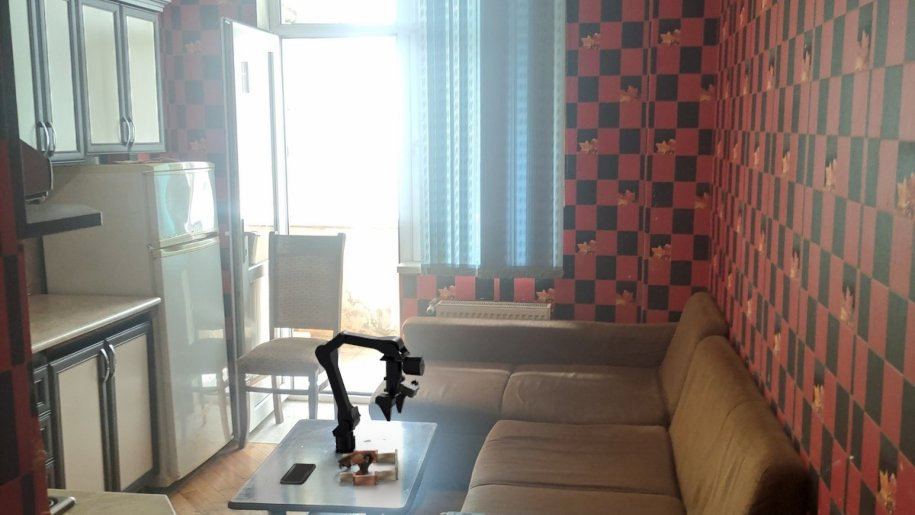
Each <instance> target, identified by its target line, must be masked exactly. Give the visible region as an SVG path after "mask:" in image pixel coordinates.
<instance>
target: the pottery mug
mask: <svg viewBox="0 0 915 515" xmlns="http://www.w3.org/2000/svg"><path fill="white" fill-rule="evenodd" d="M358 451H359V450H354V452H353V453H348V454H349V455H348V456H346V457H343V456H342V458H340V459H339V460H337V463H338V469H339V470H342V467H345V468H347V469H348V470H350V468H352V467H353V466H352V464H354V465H355V466H356V465H357V467H358V470H357V471H355V472H356V476H359V475H369V467H371V465H372V464H373V463H374V462H373V460H374V456H373V455H372V453H371V452H366V453H364V454H359V453H358ZM367 456H369V461H368V462H366V457H367ZM350 460H352V461H353V463H350Z"/></svg>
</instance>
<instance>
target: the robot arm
mask: <svg viewBox="0 0 915 515" xmlns="http://www.w3.org/2000/svg"><path fill="white" fill-rule="evenodd" d="M343 345H350V346H356V347H361V348H366V349H372V350H375V351H378V352H379V353H380V354H383V355H382V356H381V357H380V358H379V361H380V362H385V376H383V381H385V387H384V388H383V392H380V393H379V394H378V395H377V396H375V399H374V402H375V403H374V404H375V405H377V406H378V407H379V409H380V410H381V412H382V415H383V417H384V418H385V420H386V422H389V423H390V422H391V421H392V420H391V419H392V411H393V408H394V406H395V407H396V411H397V413H398V414H402V412H403V409H404V404H405V400H406V398H407V397H408V398H410V399H412V398H414V397H415V396H417V393H418V391H419V390H420V385H419V380H418V379H415V378H413V379H412V380H406V376H417V377H419V376H420V377H423V376H424V374H425V369H426V368H425V367H426V365H425V361H424V358H423V355H411V352H410V351H409V350H408V348H407V347H406V345H405V341H404V340H403V339H402V337H401V336H398V335H385V336H376V335H375V336H374V335H369V334H365V333H364V334H363V333H359V332H352V331H349V330H342V331H339V333H337V334H336V336H334V337H333V338H331V339H330V340H326V341H324V342H322V343H321V344H319V345H317V347H316V348H315V350H314V355H315V358H316V360H317V361H318V363H319V365H320V366H321V367H322V368H323V369H324V370H325V373H326V376H327V380H328V383H329V385H330V389H331V391H332V395H333V398H334V401H335V404H336V407H337V414H336V415H337V416H336V420H337V426H336V427H335V428H333V430H332V431H331V434H332V436H333V437H334V439H335V440H334V441H335V452H334V453H335V454H351V453H353V452H355V450H356V448H357V445H356V435H355V434H354V431H355V430H356V427H358V425H359V424H360V422H361V416H362V414H360V412H359V407H358V405H356V406H354V405H353V404H352V403H351V401H350V397H349V395H348V392H347V389H346V385H345V382H344V379H343V376H342V374H341V369H340V368H339V349H340V348H341V347H342V346H343ZM404 374H405V375H404Z"/></svg>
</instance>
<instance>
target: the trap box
mask: <svg viewBox="0 0 915 515" xmlns="http://www.w3.org/2000/svg"><path fill="white" fill-rule="evenodd" d="M357 451H358V453H359V454H364V453H366V452H371V453H372V455H373V456H374V460H373V462H372V463H389V462H391V463H392V462H393V463H394V465H395V466H394V467H395V468H394V470H393V469H392V470H391V469H390V470H388V469H387V470H375V471H374V472H373V474H366V475H359V476H356V472H357V471H347V472H346V471H345V472H339V482H340V483H352V486H353V487H359V486H377V485H378V482H380V481H381V482H382V481H398V480H399V469H398V468H399V463H398V462H399V461H398V458H399V456H398V448H395V449H394V451H392V452H379V449H362V450H357ZM349 454H350V453H342V458H343V457H346V456H348V455H349ZM368 461H369V456H367V457H366V462H368ZM350 463H351V464H354V463H353V461H352V460H350Z"/></svg>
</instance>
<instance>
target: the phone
mask: <svg viewBox="0 0 915 515" xmlns="http://www.w3.org/2000/svg"><path fill="white" fill-rule="evenodd" d="M316 468H317V464H316V463H303V462H297V463H293V464H292V465H291V466H290V468H289V469H288V470H287V471H286V473H285V474H284V475H283V476H282V477H281V479H280V480H279V482H280V483H281V484H285V485H303V484H304V483H305V482H306V481H307V480H308V479H309V477H310V476H311V474H312V473H313V472H314V470H315V469H316Z"/></svg>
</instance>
